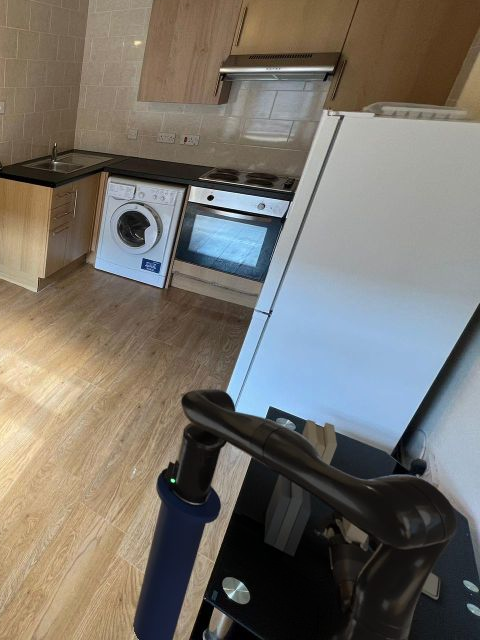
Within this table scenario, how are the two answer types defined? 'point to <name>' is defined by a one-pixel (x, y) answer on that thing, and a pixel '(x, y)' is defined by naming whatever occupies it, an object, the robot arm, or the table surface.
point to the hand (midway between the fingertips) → (348, 517)
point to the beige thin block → (349, 534)
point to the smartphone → (430, 585)
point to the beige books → (321, 439)
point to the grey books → (287, 516)
